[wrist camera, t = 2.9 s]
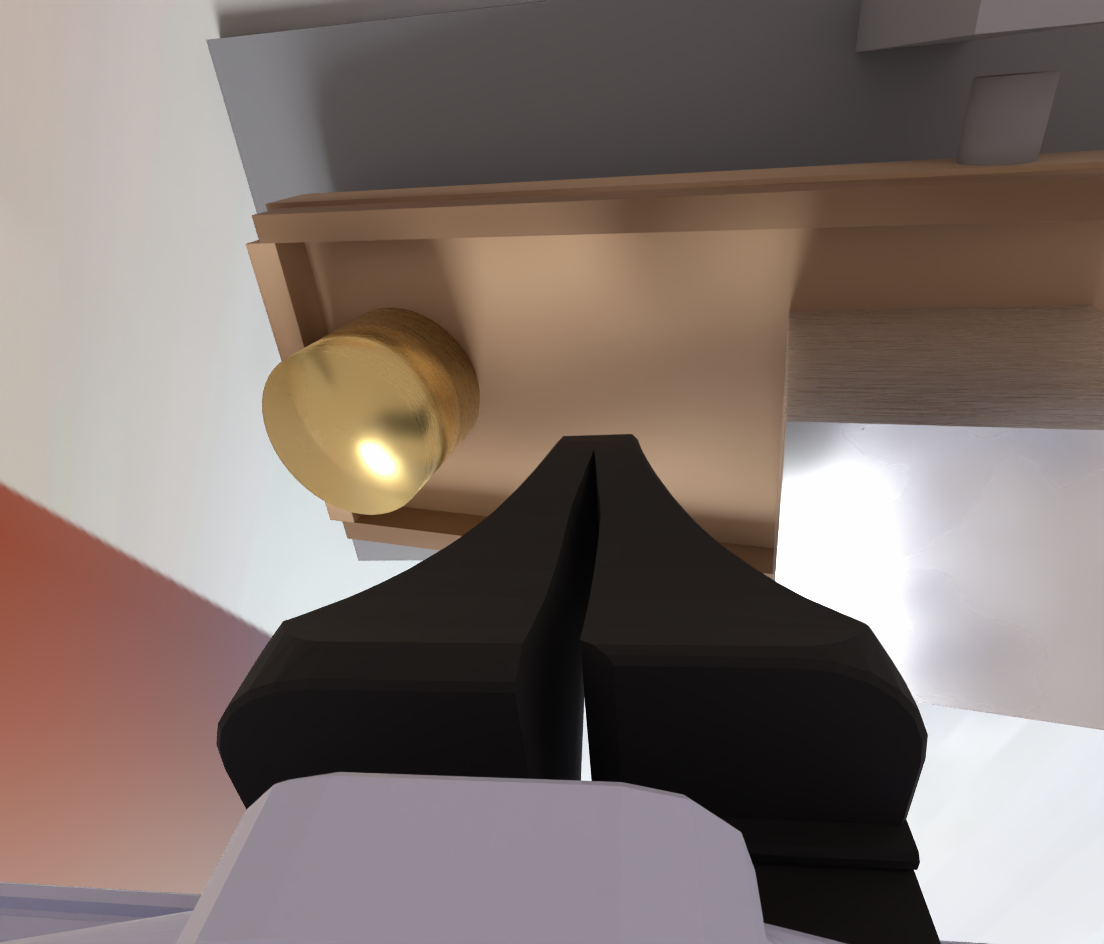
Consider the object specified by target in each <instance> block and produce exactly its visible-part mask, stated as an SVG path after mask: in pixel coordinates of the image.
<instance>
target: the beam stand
mask: <svg viewBox="0 0 1104 944" xmlns="http://www.w3.org/2000/svg"><path fill="white" fill-rule="evenodd" d="M207 44H208V47H209V51H210V54H211V57H212V61H213V64H214V68H215V71H216V75H217V78H218V81H219V85H220V88H221V92H222V95H223V99H224V102H225V105H226V109H227V112H228V116H229V119H230V122H231V126H232V129H233V133H234V136H235V140H236V143H237V146H238V150H239V153H240V157H241V160H242V164H243V167H244V170H245V174H246V177H247V181H248V184H249V187H250V191H251V194H252V198H253V201H254V205H255V208H256V211H257V214H259V213H263V212H266V211H267V208H266V205H265V204H267V203H271V202H275V201H278V200H282V199H286V198H290V197H294V196H298V195H302V194H313V193H331V192H349V191H368V190H386V189H404V188H422V187H440V186H459V185H477V184H495V183H513V182H532V181H550V180H568V179H586V178H605V177H623V176H641V175H659V174H677V173H696V172H714V171H732V170H750V169H769V168H787V167H805V166H823V165H842V164H860V163H878V162H896V161H914V160H933V159H951V158H957V156H958V151H959V147H960V142H961V137H962V132H963V127H964V122H965V118H966V113H967V108H968V103H969V98H970V93H971V88H972V84H973V79H974V78H975V77H983V76H992V75H1003V74H1014V73H1027V72H1041V71H1061V72H1060V76H1059V80H1058V84H1057V88H1056V91H1055V95H1054V99H1053V103H1052V107H1051V111H1050V114H1049V118H1048V122H1047V126H1046V130H1045V133H1044V137H1043V141H1042V145H1041V149H1040V152H1039V154H1042V153H1060V152H1079V151H1097V150H1104V0H549V1H540V2H531V3H523V4H514V5H505V6H496V7H488V8H479V9H470V10H462V11H453V12H444V13H436V14H427V15H418V16H410V17H401V18H392V19H384V20H375V21H366V22H358V23H349V24H340V25H332V26H323V27H314V28H306V29H297V30H288V31H280V32H271V33H262V34H253V35H245V36H236V37H227V38H219V39H210V40H207ZM352 540H353V543H354V547H355V550H356V554H357V557H358V560H359V561H369V560H425V559H427V558H428V557H430V556H432V555H433V554H435V553H437V552H438V551H440V550H432V549H424V548H417V547H409V546H402V545H394V544H387V543H379V542H372V541H364V540H356V539H352Z"/></svg>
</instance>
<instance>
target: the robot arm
mask: <svg viewBox="0 0 1104 944" xmlns="http://www.w3.org/2000/svg"><path fill="white" fill-rule="evenodd" d="M584 697H585V708H586V719H587V731H588V743H589V754H590V766H591V778H592V781H581V761H582V737H583V714H584ZM927 737H928V734H927V732H926V729H925V726H924V723H923V720H922V717H921V714H920V712H919V709H918V707H917V705H916V702H915V700H914V698H913V696H912V694H911V692H910V690H909V688H908V686H907V684H906V682H905V680H904V679H903V677H902V675H901V674H900V672H899V671H898V669H897V667H896V666H895V664H894V662H893V661H892V659H891V658H890V656H889V655H888V653H887V652H886V650H885V649H884V647H883V646H882V644H881V643H880V641H879V640H878V638H877V637H876V635H875V634H874V632H873V631H872V629H871V627H870V626H869V625H868V624H866V623H864V622H862V621H859V620H857V619H855V618H852V617H850V616H848V615H845V614H843V613H841V612H839V611H836V610H834V609H832V608H829V607H827V606H825V605H822V604H820V603H818V602H815V601H813V600H811V599H809V598H807V597H805V596H803V595H801V594H799V593H797V592H795V591H793V590H791V589H790V588H788V587H786V586H784V585H782V584H780V583H779V582H777V581H775V580H773V579H771V578H770V577H768V576H766V575H765V574H763V573H761V572H760V571H758V570H757V569H755V568H753V567H752V566H750V565H749V564H747V563H746V562H745V561H743V560H742V559H740V558H739V557H737V556H736V555H735V554H733V553H732V552H730V551H729V550H727V549H726V548H725V547H724V546H722V545H721V544H720V543H718V542H717V541H716V540H715V539H714V538H713V537H711V536H710V535H709V534H708V533H707V532H706V531H705V530H704V529H703V528H702V527H701V526H700V525H699V524H698V523H696V521H695V520H694V519H693V518H692V517H691V516H690V515H689V514H688V513H687V512H686V511H685V510H684V509H683V507H682V506H681V505H680V504H679V503H678V502H677V501H676V499H675V498H674V497H673V496H672V494H671V493H670V492H669V491H668V489H667V488H666V487H665V485H664V484H663V483H662V481H661V480H660V478H659V477H658V476H657V474H656V473H655V471H654V470H653V468H652V467H651V465H650V463H649V462H648V460H647V458H646V457H645V455H644V453H643V451H642V449H641V447H640V444H639V441H638V439H637V438H636V437H635V436H634V435H633V434H613V435H580V436H563V437H562V438H561V439H560V440H559V441H558V442H557V443H556V444H555V446H554V447H553V448H552V449H551V451H550V452H549V453H548V454H547V455H546V457H545V458H544V459H543V460H542V461H541V463H540V464H539V465H538V466H537V467H536V469H535V470H534V471H533V472H532V473H531V474H530V475H529V476H528V477H527V478H526V480H525V481H524V482H523V483H522V484H521V485H520V486H519V487H518V488H517V489H516V490H515V491H514V492H513V493H512V494H511V495H510V496H509V497H508V498H507V499H506V500H505V501H504V502H503V503H502V504H501V505H500V506H499V507H498V508H497V509H496V510H495V511H494V512H492V513H491V514H490V515H489V516H488V517H486V518H485V519H484V520H483V521H481V522H480V523H479V524H478V525H476V526H475V527H474V528H472V529H471V530H470V531H468V532H467V533H466V534H464V535H463V536H461V537H460V538H459V539H457V540H456V541H454V542H453V543H451V544H450V545H448V546H447V547H445V548H443V549H442V550H440V551H438V552H437V553H435V554H433V555H432V556H430V557H428V558H427V559H425V560H423V561H422V562H420V563H419V564H417V565H415V566H414V567H412V568H410V569H408V570H406V571H404V572H402V573H400V574H398V575H396V576H394V577H392V578H390V579H388V580H386V581H384V582H382V583H380V584H378V585H376V586H373V587H371V588H369V589H367V590H365V591H363V592H360V593H358V594H356V595H353V596H351V597H349V598H346V599H343V600H341V601H338V602H335V603H333V604H330V605H327V606H325V607H322V608H319V609H317V610H314V611H311V612H309V613H306V614H303V615H300V616H298V617H295V618H292V619H289V620H286V621H283V622H282V624H281V625H280V627H279V628H278V629H277V631H276V632H275V634H274V635H273V636H272V638H271V639H270V641H269V642H268V644H267V645H266V646H265V648H264V650H263V651H262V653H261V654H260V656H259V657H258V659H257V661H256V662H255V664H254V665H253V667H252V668H251V670H250V672H249V673H248V675H247V676H246V678H245V680H244V681H243V683H242V684H241V686H240V688H239V689H238V691H237V693H236V694H235V696H234V697H233V699H232V700H231V702H230V704H229V705H228V707H227V709H226V710H225V712H224V714H223V716H222V717H221V719H220V721H219V723H218V731H217V747H218V750H219V753H220V756H221V759H222V762H223V764H224V767H225V769H226V772H227V773H228V775H229V777H230V779H231V781H232V783H233V785H234V787H235V789H236V790H237V792H238V794H239V796H240V798H241V800H242V802H243V804H244V805H245V807H246V809H247V810H246V811H245V813H244V815H243V817H242V818H241V820H240V822H239V824H238V826H237V828H236V830H235V832H234V834H233V836H232V838H231V840H230V841H229V843H228V845H227V847H226V849H225V851H224V853H223V855H222V857H221V859H220V860H219V862H218V864H217V866H216V868H215V870H214V872H213V874H212V876H211V878H210V880H209V882H208V883H207V885H206V887H205V889H204V891H203V893H202V895H201V894H186V893H170V892H153V891H137V890H121V889H105V888H90V887H74V886H58V885H41V884H25V883H10V882H0V944H986V943H970V942H954V941H940V940H939V937H938V935H937V932H936V929H935V927H934V924H933V921H932V918H931V916H930V913H929V910H928V908H927V905H926V902H925V899H924V897H923V894H922V891H921V888H920V886H919V883H918V880H917V878H916V875H915V872H914V870H917V869H918V866H919V863H920V860H919V852H918V849H917V846H916V844H915V841H914V839H913V836H912V833H911V831H910V828H909V826H908V823H907V820H906V818H907V815H908V812H909V809H910V805H911V802H912V799H913V796H914V793H915V790H916V787H917V783H918V780H919V777H920V774H921V771H922V768H923V764H924V761H925V757H926V747H927Z"/></svg>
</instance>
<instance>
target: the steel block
mask: <svg viewBox="0 0 1104 944" xmlns="http://www.w3.org/2000/svg"><path fill="white" fill-rule="evenodd" d="M773 580H775V581H777V582H779V583H780V584H782V585H784V586H786V587H788V588H790V589H791V590H793V591H795V592H797V593H799V594H801V595H803V596H805V597H807V598H809V599H811V600H813V601H815V602H818V603H820V604H822V605H825V606H827V607H829V608H832V609H834V610H836V611H839V612H841V613H843V614H845V615H848V616H850V617H852V618H855V619H857V620H859V621H862V622H864V623H866V624H868V625H869V626H870V627H871V629H872V631H873V632H874V634H875V635H876V637H877V638H878V640H879V641H880V643H881V644H882V646H883V647H884V649H885V650H886V652H887V653H888V655H889V656H890V658H891V659H892V661H893V662H894V664H895V666H896V667H897V669H898V671H899V672H900V674H901V675H902V677H903V679H904V680H905V682H906V684H907V686H908V688H909V690H910V692H911V694H912V696H913V698H914V700H915V702H919V703H925V704H932V705H939V706H946V707H952V708H959V709H966V710H972V711H979V712H986V713H993V714H999V715H1006V716H1013V717H1020V718H1026V719H1033V720H1040V721H1046V722H1053V723H1060V724H1067V725H1073V726H1080V727H1087V728H1093V729H1100V730H1104V313H1103V312H1102V311H1100V310H1099V309H1098V308H1096V307H1095V306H1094V305H1059V306H1013V307H967V308H920V309H874V310H827V311H789V316H788V331H787V347H786V362H785V377H784V393H783V408H782V423H781V439H780V454H779V469H778V485H777V500H776V515H775V537H774V561H773Z"/></svg>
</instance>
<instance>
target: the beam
mask: <svg viewBox="0 0 1104 944" xmlns="http://www.w3.org/2000/svg"><path fill="white" fill-rule="evenodd" d="M1060 72H1061V71H1041V72H1027V73H1014V74H1003V75H992V76H983V77H975V78H974V79H973V84H972V88H971V93H970V98H969V103H968V108H967V113H966V118H965V122H964V127H963V132H962V137H961V142H960V147H959V151H958V156H957V158H951V159H933V160H914V161H896V162H878V163H860V164H842V165H823V166H805V167H787V168H769V169H750V170H732V171H714V172H696V173H677V174H659V175H641V176H623V177H605V178H586V179H568V180H550V181H532V182H513V183H495V184H477V185H459V186H440V187H422V188H404V189H386V190H368V191H349V192H331V193H313V194H302V195H298V196H294V197H290V198H286V199H282V200H278V201H275V202H271V203H267V204H265V205H266V208H267V211H266V212H263V213H259V214H255V215H252V218H253V221H254V225H255V228H256V232H257V235H258V238H259V240H257V241H254V242H250V243H247V244H246V246H247V250H248V253H249V256H250V260H251V263H252V266H253V269H254V273H255V276H256V279H257V282H258V286H259V289H260V292H261V295H262V299H263V302H264V305H265V308H266V312H267V315H268V318H269V321H270V325H271V328H272V331H273V334H274V338H275V341H276V344H277V347H278V351H279V354H280V357H281V360H282V361H283V360H285V359H286V358H288V357H290V356H291V355H293V354H295V353H297V352H298V351H300V350H302V349H304V348H305V347H307V346H309V345H311V344H312V343H314V342H316V341H318V340H320V339H321V338H323V337H325V336H327V335H328V334H330V333H332V332H334V331H335V330H337V329H339V328H341V327H342V326H344V325H346V324H348V323H349V322H351V321H353V320H355V319H356V318H358V317H360V316H362V315H364V314H365V313H368V312H370V311H373V310H376V309H381V308H402V309H407V310H411V311H414V312H417V313H419V314H422V315H424V316H426V317H428V318H430V319H432V320H433V321H435V322H436V323H438V324H439V325H440V326H442V327H443V328H444V329H445V330H446V331H448V332H449V333H450V334H451V335H452V336H453V337H454V338H455V339H456V340H457V342H458V343H459V344H460V346H461V347H462V348H463V350H464V351H465V353H466V354H467V356H468V358H469V359H470V362H471V364H472V366H473V368H474V371H475V373H476V376H477V380H478V385H479V391H480V408H479V413H478V417H477V420H476V423H475V425H474V427H473V429H472V431H471V432H470V433H469V435H468V436H467V437H466V438H465V440H464V441H463V442H462V443H461V444H460V445H459V446H458V447H457V449H456V450H455V451H454V452H453V453H452V454H451V455H450V456H449V457H448V459H447V460H446V461H445V462H444V463H443V464H442V465H441V466H440V468H439V469H438V470H437V471H436V472H435V473H434V474H433V475H432V477H431V478H430V479H429V480H428V481H427V482H426V483H425V484H424V486H423V487H422V488H421V489H420V490H419V491H418V492H417V493H416V495H415V496H414V497H413V498H412V499H411V500H410V501H409V502H408V503H406V504H405V505H404V506H402V507H401V508H399V509H397V510H394V511H392V512H389V513H384V514H377V515H366V514H358V513H353V512H349V511H346V510H343V509H340V508H338V507H335V506H333V505H331V504H329V503H327V502H325V504H326V507H327V510H328V513H329V517H330V520H337V521H342V522H343V525H344V528H345V532H346V535H347V538H349V539H356V540H364V541H372V542H379V543H387V544H394V545H402V546H409V547H417V548H424V549H432V550H442V549H443V548H445V547H447V546H448V545H450V544H451V543H453V542H454V541H456V540H457V539H459V538H460V537H461V536H463V535H464V534H466V533H467V532H468V531H470V530H471V529H472V528H474V527H475V526H476V525H478V524H479V523H480V522H481V521H483V520H484V519H485V518H486V517H488V516H489V515H490V514H491V513H492V512H494V511H495V510H496V509H497V508H498V507H499V506H500V505H501V504H502V503H503V502H504V501H505V500H506V499H507V498H508V497H509V496H510V495H511V494H512V493H513V492H514V491H515V490H516V489H517V488H518V487H519V486H520V485H521V484H522V483H523V482H524V481H525V480H526V478H527V477H528V476H529V475H530V474H531V473H532V472H533V471H534V470H535V469H536V467H537V466H538V465H539V464H540V463H541V461H542V460H543V459H544V458H545V457H546V455H547V454H548V453H549V452H550V451H551V449H552V448H553V447H554V446H555V444H556V443H557V442H558V441H559V440H560V439H561V438H562V437H563V436H580V435H613V434H633V435H634V436H635V437H636V438H637V439H638V441H639V444H640V447H641V449H642V451H643V453H644V455H645V457H646V458H647V460H648V462H649V463H650V465H651V467H652V468H653V470H654V471H655V473H656V474H657V476H658V477H659V478H660V480H661V481H662V483H663V484H664V485H665V487H666V488H667V489H668V491H669V492H670V493H671V494H672V496H673V497H674V498H675V499H676V501H677V502H678V503H679V504H680V505H681V506H682V507H683V509H684V510H685V511H686V512H687V513H688V514H689V515H690V516H691V517H692V518H693V519H694V520H695V521H696V523H698V524H699V525H700V526H701V527H702V528H703V529H704V530H705V531H706V532H707V533H708V534H709V535H710V536H711V537H713V538H714V539H715V540H716V541H717V542H718V543H720V544H721V545H722V546H724V547H725V548H726V549H727V550H729V551H730V552H732V553H733V554H735V555H736V556H737V557H739V558H740V559H742V560H743V561H745V562H746V563H747V564H749V565H750V566H752V567H753V568H755V569H757V570H758V571H760V572H761V573H763V574H765V575H766V576H768V577H770V578H771V579H773V561H774V537H775V515H776V500H777V485H778V469H779V454H780V439H781V423H782V408H783V393H784V377H785V362H786V347H787V331H788V316H789V311H827V310H874V309H920V308H967V307H1013V306H1059V305H1094V306H1095V307H1096V308H1098V309H1099V310H1100V311H1102V312H1103V313H1104V150H1097V151H1079V152H1060V153H1042V154H1039V152H1040V149H1041V145H1042V141H1043V137H1044V133H1045V130H1046V126H1047V122H1048V118H1049V114H1050V111H1051V107H1052V103H1053V99H1054V95H1055V91H1056V88H1057V84H1058V80H1059V76H1060Z"/></svg>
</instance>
